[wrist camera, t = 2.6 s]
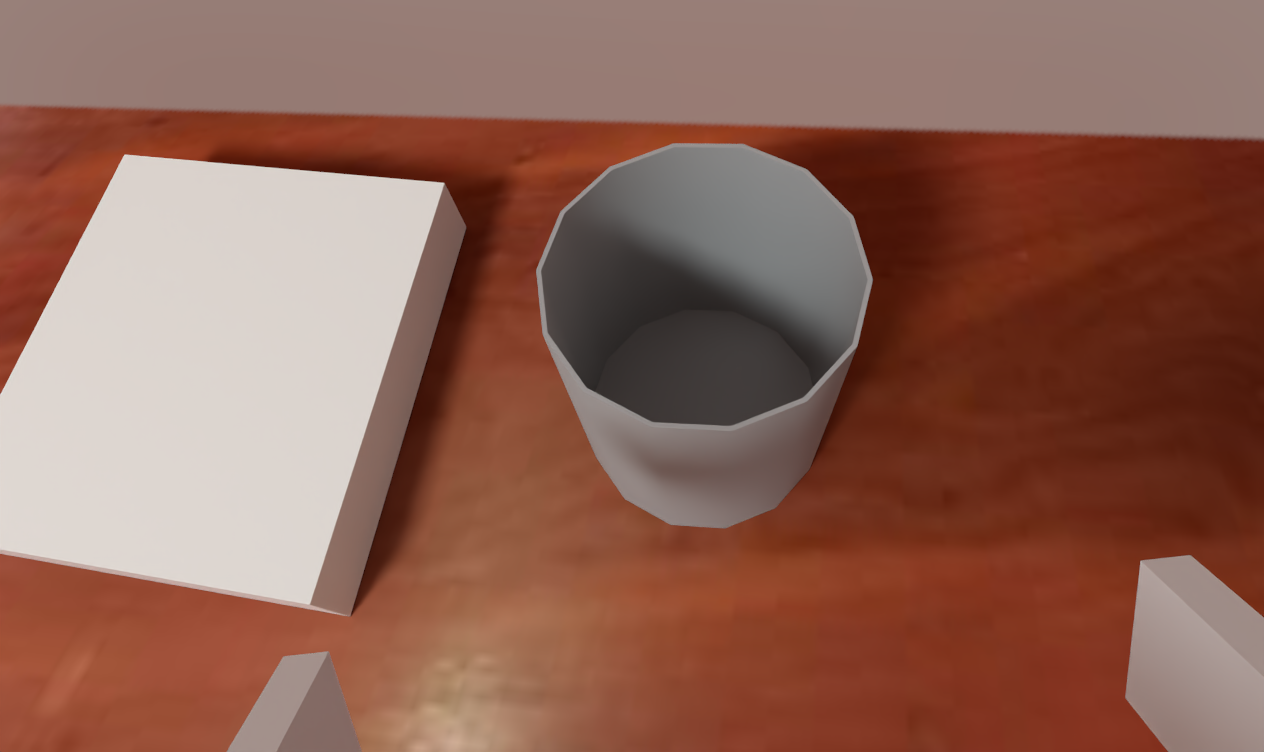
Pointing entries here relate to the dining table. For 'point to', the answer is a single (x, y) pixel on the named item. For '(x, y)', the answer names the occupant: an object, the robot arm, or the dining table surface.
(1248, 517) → the dining table surface
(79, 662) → the dining table surface
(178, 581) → the raised board
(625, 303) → the cup
